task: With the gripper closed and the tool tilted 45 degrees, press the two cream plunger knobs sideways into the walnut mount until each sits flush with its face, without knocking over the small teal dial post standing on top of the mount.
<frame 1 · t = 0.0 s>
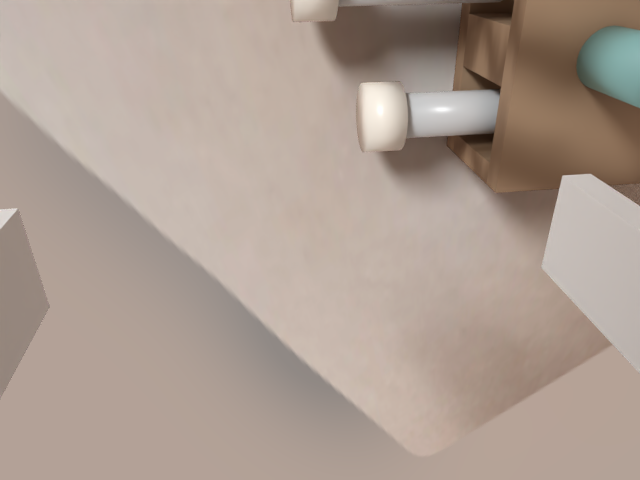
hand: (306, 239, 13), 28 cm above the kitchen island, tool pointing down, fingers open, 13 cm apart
knob b: (454, 113, 36), point 5 cm above the kitchen island, slide at 4.5 cm
mount: (529, 35, 39), on the kitchen island
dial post: (605, 58, 31), point 9 cm above the kitchen island, touching mount
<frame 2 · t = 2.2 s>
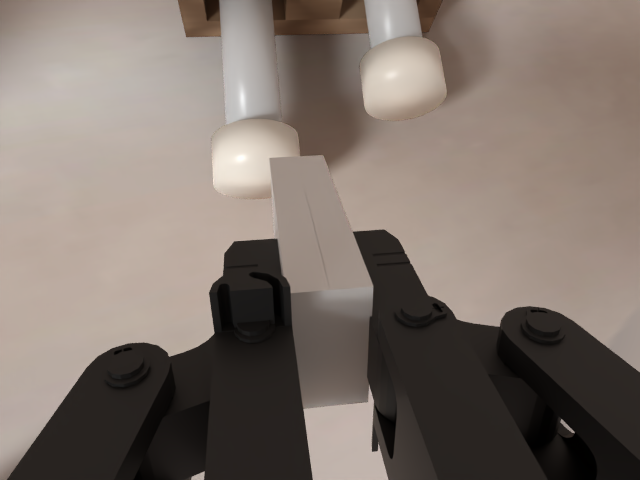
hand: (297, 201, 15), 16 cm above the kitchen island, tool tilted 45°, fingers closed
knob b: (390, 3, 31), point 5 cm above the kitchen island, slide at 4.5 cm
knob a: (250, 73, 29), point 5 cm above the kitchen island, slide at 0.0 cm
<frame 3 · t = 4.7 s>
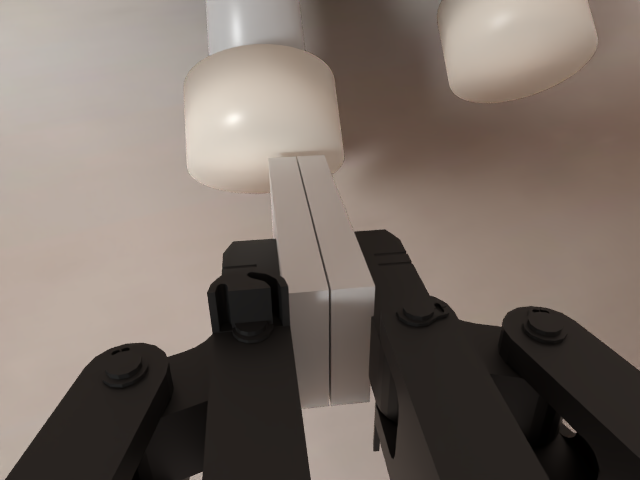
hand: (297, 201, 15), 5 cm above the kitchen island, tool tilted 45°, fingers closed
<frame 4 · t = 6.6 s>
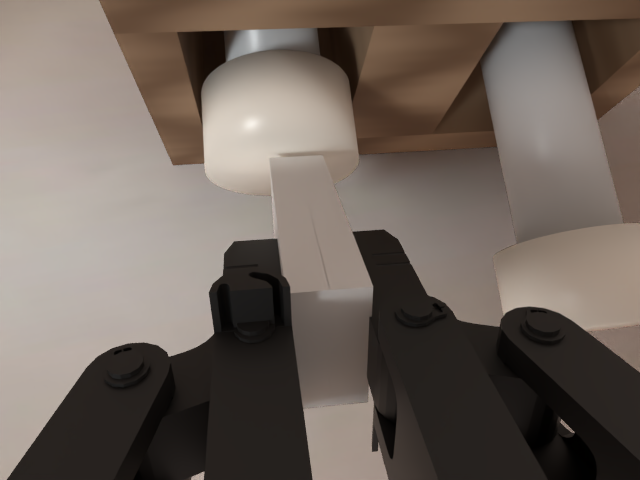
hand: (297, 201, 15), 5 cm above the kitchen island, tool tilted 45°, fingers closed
knob b: (543, 126, 17), point 5 cm above the kitchen island, slide at 4.5 cm
mount: (363, 36, 23), on the kitchen island
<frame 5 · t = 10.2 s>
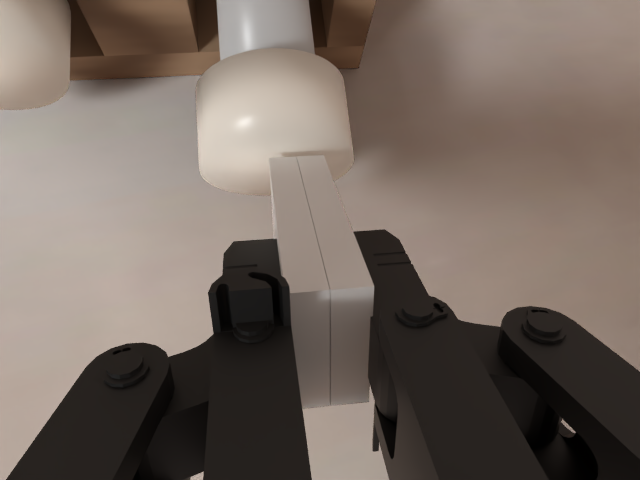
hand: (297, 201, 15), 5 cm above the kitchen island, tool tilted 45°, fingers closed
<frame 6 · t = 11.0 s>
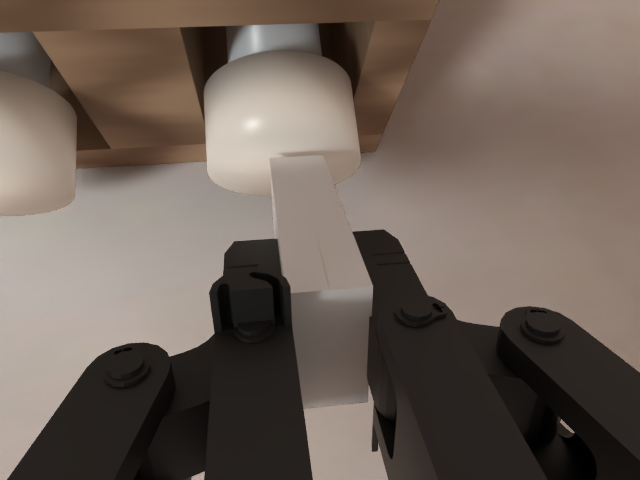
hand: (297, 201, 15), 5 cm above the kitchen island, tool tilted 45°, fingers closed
mount: (165, 42, 22), on the kitchen island
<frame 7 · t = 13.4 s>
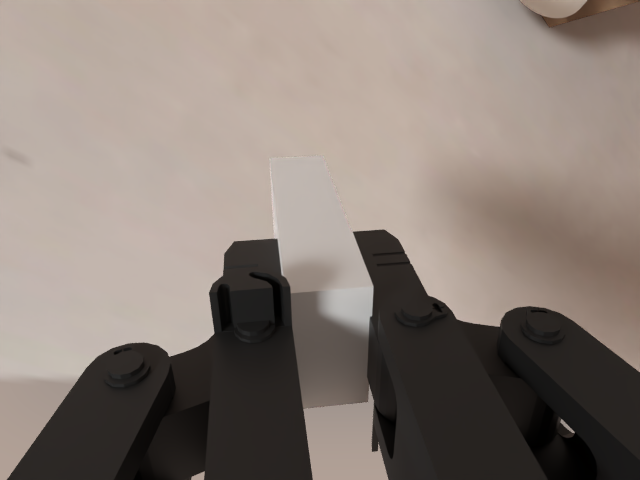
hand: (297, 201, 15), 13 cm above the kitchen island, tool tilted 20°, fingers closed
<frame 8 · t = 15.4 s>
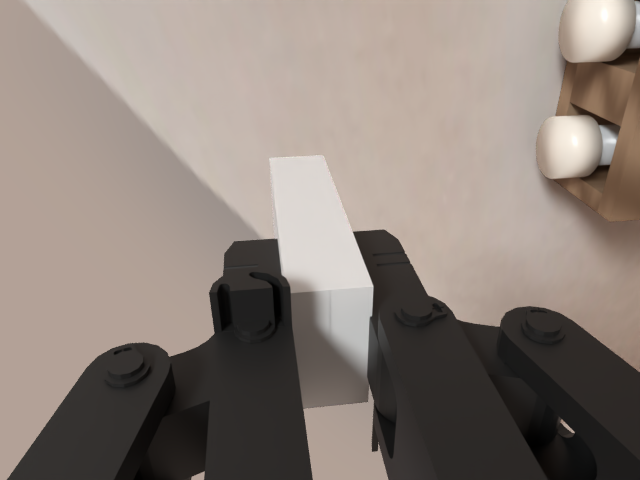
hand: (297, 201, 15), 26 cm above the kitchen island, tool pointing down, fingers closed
knob b: (632, 143, 40), point 5 cm above the kitchen island, slide at 9.8 cm
mount: (628, 72, 42), on the kitchen island
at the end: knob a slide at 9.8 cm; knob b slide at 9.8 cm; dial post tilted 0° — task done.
